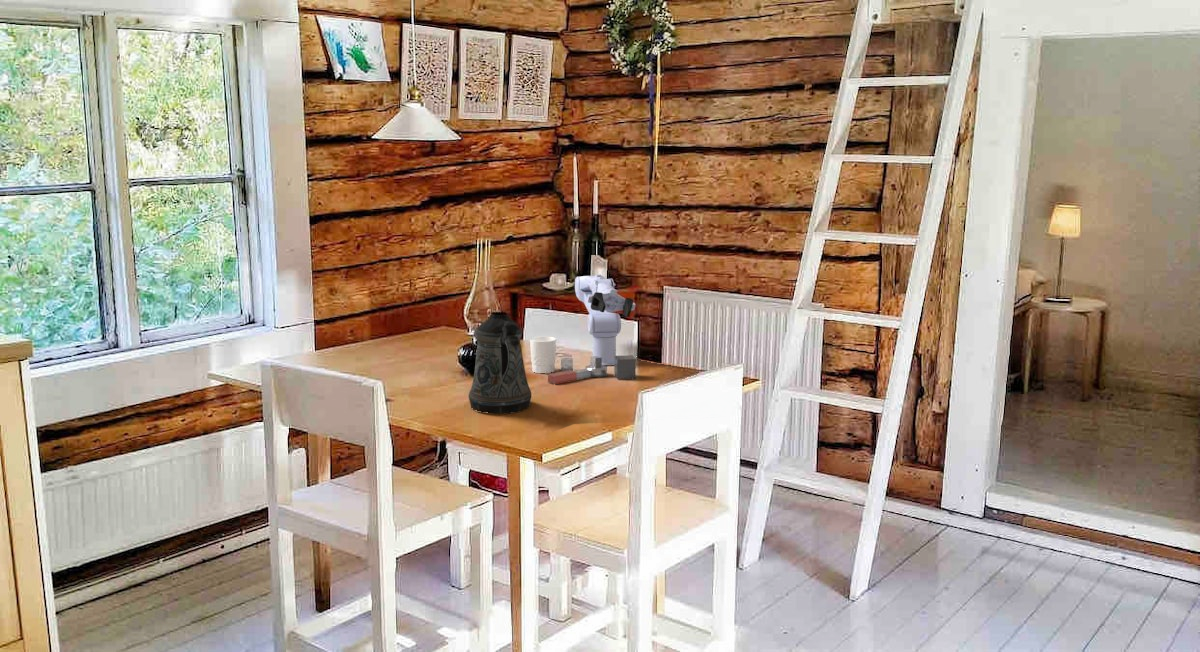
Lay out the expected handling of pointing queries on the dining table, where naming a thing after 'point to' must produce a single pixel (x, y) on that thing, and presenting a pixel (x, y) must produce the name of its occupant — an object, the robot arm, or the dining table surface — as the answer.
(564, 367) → the socket
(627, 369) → the brushed steel cube
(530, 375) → the dining table surface
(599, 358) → the ratchet
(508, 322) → the beer stein
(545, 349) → the white cup
